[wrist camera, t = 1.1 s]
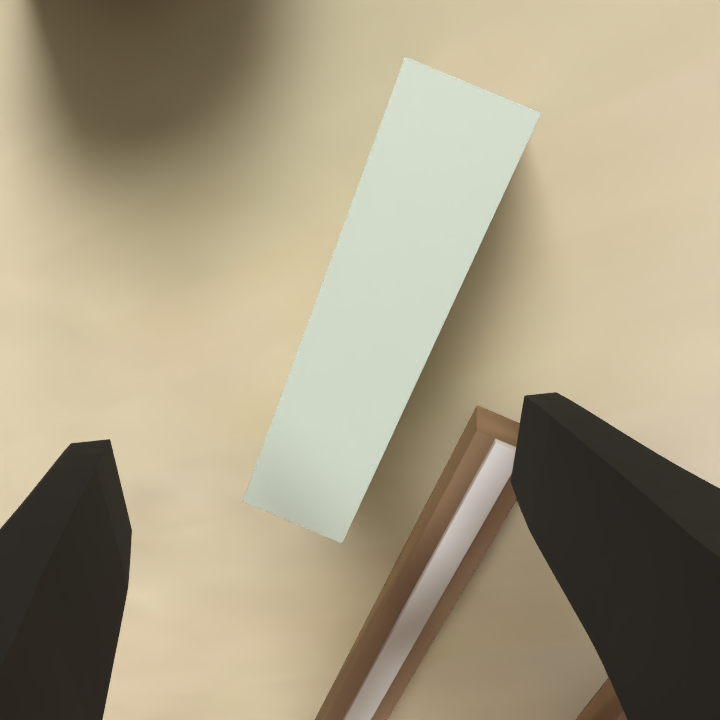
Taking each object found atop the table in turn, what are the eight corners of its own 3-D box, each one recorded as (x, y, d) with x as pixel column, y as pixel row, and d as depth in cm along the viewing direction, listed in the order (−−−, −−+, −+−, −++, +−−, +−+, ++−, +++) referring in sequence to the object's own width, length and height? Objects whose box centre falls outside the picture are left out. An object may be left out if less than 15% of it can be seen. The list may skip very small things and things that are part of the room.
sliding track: (795, 539, 24) (825, 581, 22) (545, 836, 33) (550, 887, 30) (477, 405, 25) (476, 434, 22) (307, 733, 33) (295, 777, 31)
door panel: (520, 106, 21) (541, 113, 13) (381, 415, 26) (342, 543, 18) (432, 69, 21) (405, 57, 13) (310, 385, 26) (242, 501, 18)
